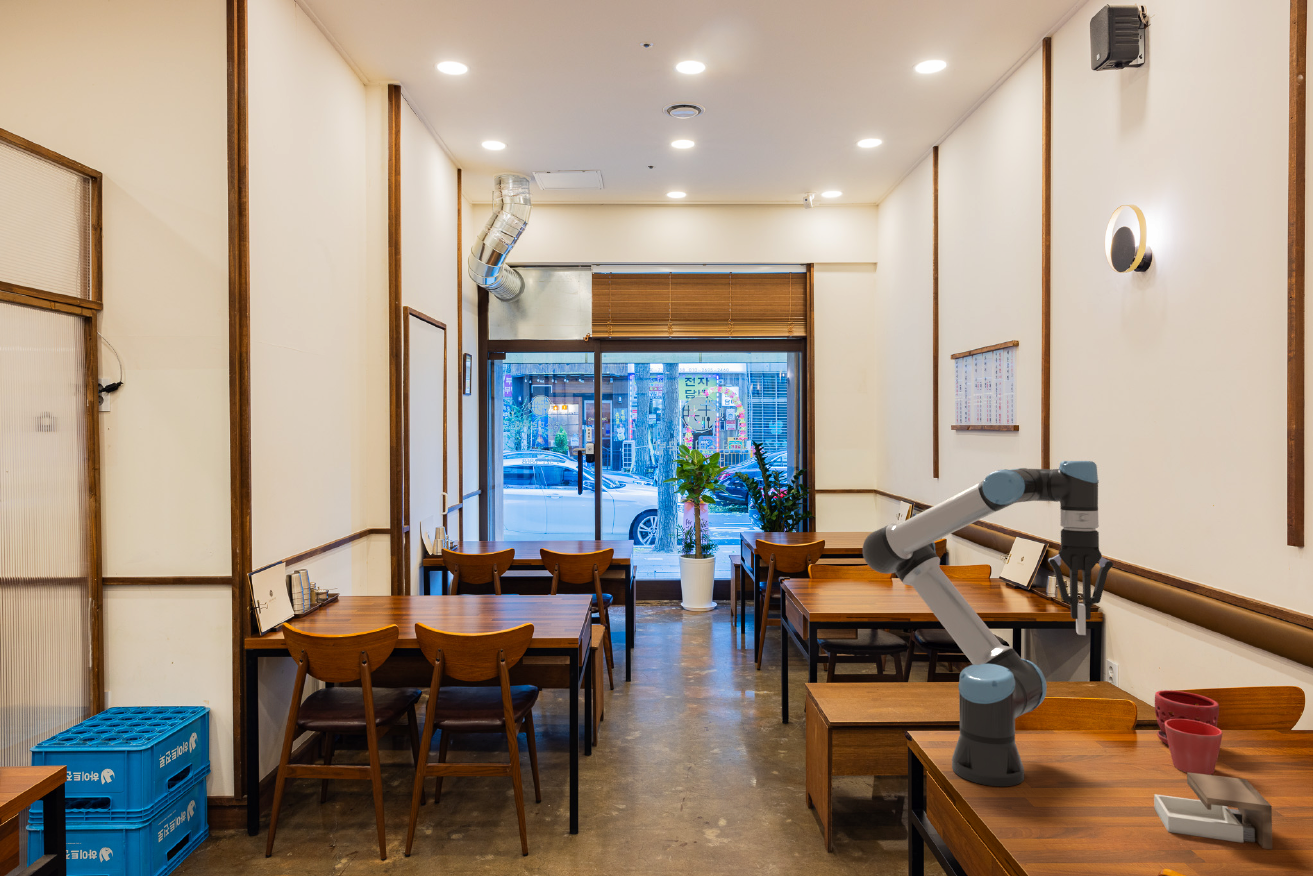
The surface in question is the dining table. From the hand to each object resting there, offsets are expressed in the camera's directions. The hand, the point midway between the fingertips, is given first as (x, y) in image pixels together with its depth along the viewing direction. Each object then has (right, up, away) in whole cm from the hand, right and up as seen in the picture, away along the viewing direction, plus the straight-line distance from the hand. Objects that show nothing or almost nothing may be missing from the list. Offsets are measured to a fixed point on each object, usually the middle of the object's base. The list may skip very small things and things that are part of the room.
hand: (1080, 633), depth 171 cm
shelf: (+15, -32, -24) cm, 43 cm away
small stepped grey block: (+17, -32, -25) cm, 44 cm away
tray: (+10, -32, -22) cm, 40 cm away
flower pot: (+28, -33, +4) cm, 43 cm away
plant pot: (+37, -33, +18) cm, 52 cm away
